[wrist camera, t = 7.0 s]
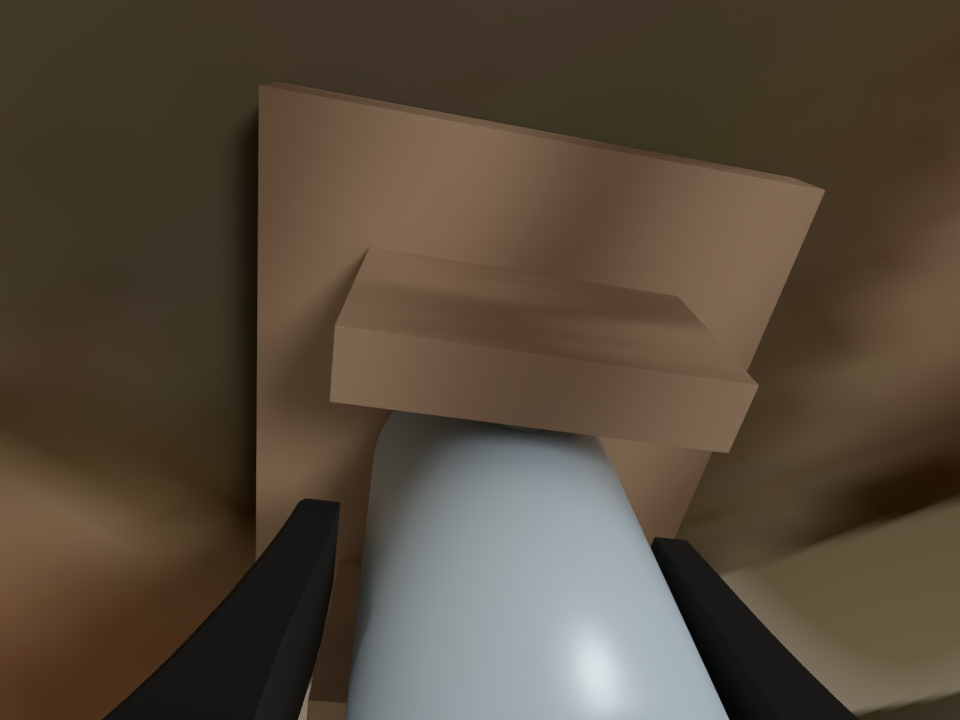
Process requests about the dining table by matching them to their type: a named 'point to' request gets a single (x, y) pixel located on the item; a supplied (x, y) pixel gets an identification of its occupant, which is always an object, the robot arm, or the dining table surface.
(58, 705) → the dining table surface
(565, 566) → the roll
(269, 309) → the holder
